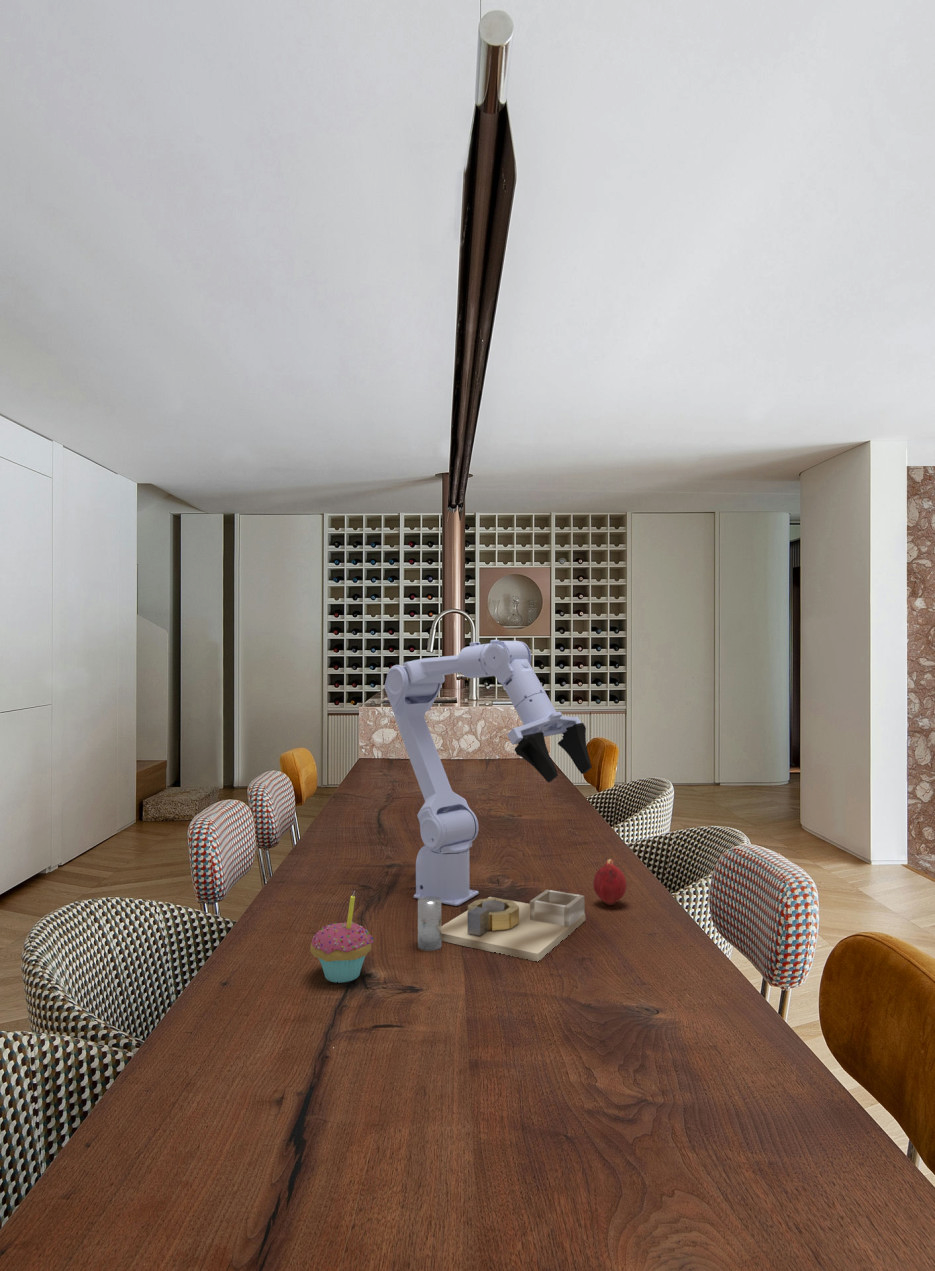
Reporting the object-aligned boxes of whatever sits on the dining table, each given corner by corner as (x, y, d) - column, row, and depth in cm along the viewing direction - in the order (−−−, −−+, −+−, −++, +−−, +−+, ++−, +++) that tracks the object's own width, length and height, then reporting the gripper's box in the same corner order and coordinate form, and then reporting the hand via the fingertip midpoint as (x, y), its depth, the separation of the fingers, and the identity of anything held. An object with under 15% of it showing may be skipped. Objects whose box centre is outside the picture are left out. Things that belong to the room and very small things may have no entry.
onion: (626, 911, 132) (626, 865, 132) (592, 909, 133) (592, 863, 133) (626, 900, 138) (626, 856, 138) (594, 898, 139) (593, 854, 139)
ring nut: (452, 930, 120) (451, 909, 120) (483, 910, 129) (483, 890, 129) (496, 939, 116) (496, 918, 116) (525, 917, 125) (525, 898, 125)
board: (432, 939, 120) (432, 912, 120) (489, 903, 136) (489, 879, 137) (538, 962, 111) (537, 932, 111) (585, 920, 128) (585, 895, 128)
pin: (413, 947, 117) (413, 901, 117) (426, 939, 120) (426, 894, 120) (433, 952, 115) (433, 905, 115) (445, 944, 118) (445, 898, 118)
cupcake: (382, 967, 109) (382, 883, 110) (354, 993, 101) (354, 902, 102) (329, 960, 112) (329, 877, 112) (298, 984, 104) (298, 895, 104)
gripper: (510, 693, 119) (551, 770, 113) (575, 684, 128) (616, 754, 122) (488, 717, 123) (526, 792, 117) (552, 707, 132) (590, 776, 126)
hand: (570, 774), depth 120 cm, fingers open, 7 cm apart
